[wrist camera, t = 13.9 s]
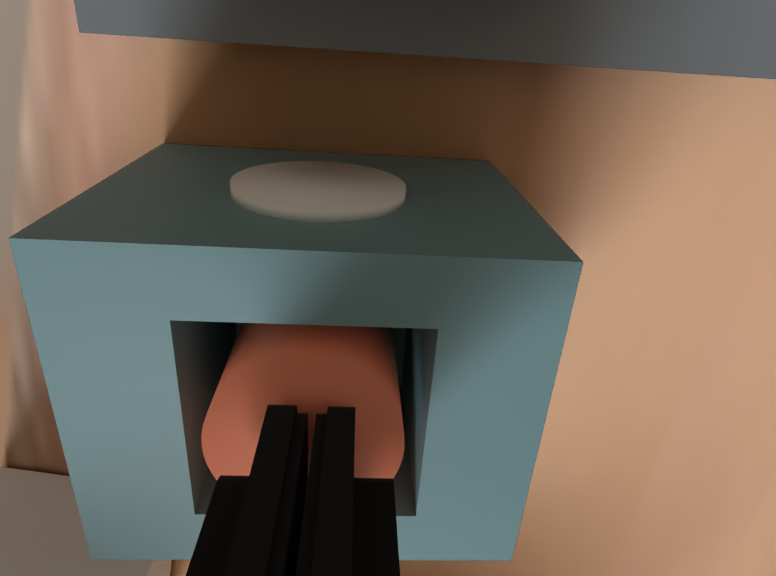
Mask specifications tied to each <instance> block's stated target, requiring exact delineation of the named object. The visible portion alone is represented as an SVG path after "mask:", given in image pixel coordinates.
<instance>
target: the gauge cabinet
mask: <svg viewBox="0 0 776 576" xmlns="http://www.w3.org/2000/svg"><path fill="white" fill-rule="evenodd" d="M8 239H9V243H10V246H11V250H12V254H13V258H14V262H15V266H16V270H17V274H18V277H19V281H20V285H21V289H22V293H23V297H24V301H25V305H26V308H27V312H28V316H29V320H30V324H31V328H32V332H33V336H34V339H35V343H36V347H37V351H38V355H39V359H40V363H41V367H42V370H43V374H44V378H45V382H46V386H47V390H48V394H49V398H50V401H51V405H52V409H53V413H54V417H55V421H56V425H57V429H58V432H59V436H60V440H61V444H62V448H63V452H64V456H65V460H66V463H67V467H68V471H69V475H70V479H71V483H72V487H73V491H74V495H75V498H76V502H77V506H78V510H79V514H80V518H81V522H82V526H83V529H84V533H85V537H86V541H87V545H88V549H89V553H90V557H91V559H115V560H191V558H192V555H193V552H194V549H195V546H196V543H197V540H198V537H199V534H200V531H201V528H202V524H203V521H204V518H205V515H206V512H207V509H208V506H209V503H210V500H211V497H212V494H213V491H214V488H215V485H216V482H217V480H216V479H215V477H214V476H213V475H212V473H211V471H210V469H209V468H208V466H207V463H206V461H205V458H204V455H203V450H202V441H201V434H202V428H203V423H204V420H205V417H206V414H207V412H208V409H209V407H210V404H211V401H212V399H213V396H214V394H215V391H216V389H217V386H218V384H219V381H220V379H221V376H222V373H223V371H224V368H225V366H226V363H227V361H228V358H229V356H230V353H231V351H232V348H233V346H234V343H235V340H236V338H237V335H238V333H239V330H240V328H241V325H242V323H267V324H297V325H328V326H359V327H390V328H393V335H394V344H395V354H396V363H397V373H398V382H399V392H400V401H401V411H402V420H403V429H404V454H403V459H402V462H401V464H400V467H399V469H398V471H397V473H396V475H395V477H394V478H393V481H394V489H395V505H396V520H397V536H398V552H399V560H469V561H512V557H513V553H514V548H515V544H516V540H517V536H518V532H519V528H520V523H521V519H522V515H523V511H524V507H525V503H526V498H527V494H528V490H529V486H530V482H531V478H532V474H533V469H534V465H535V461H536V457H537V453H538V449H539V444H540V440H541V436H542V432H543V428H544V424H545V419H546V415H547V411H548V407H549V403H550V399H551V395H552V390H553V386H554V382H555V378H556V374H557V370H558V365H559V361H560V357H561V353H562V349H563V345H564V340H565V336H566V332H567V328H568V324H569V320H570V316H571V311H572V307H573V303H574V299H575V295H576V291H577V286H578V282H579V278H580V274H581V270H582V266H583V261H582V260H581V259H580V258H579V257H578V256H577V255H576V254H575V253H574V252H573V250H572V249H571V248H570V247H569V246H568V245H567V244H566V243H565V242H564V241H563V240H562V239H561V238H560V236H559V235H558V234H557V233H556V232H555V231H554V230H553V229H552V228H551V227H550V226H549V225H548V224H547V222H546V221H545V220H544V219H543V218H542V217H541V216H540V215H539V214H538V213H537V212H536V211H535V210H534V209H533V207H532V206H531V205H530V204H529V203H528V202H527V201H526V200H525V199H524V198H523V197H522V196H521V195H520V193H519V192H518V191H517V190H516V189H515V188H514V187H513V186H512V185H511V184H510V183H509V182H508V181H507V179H506V178H505V177H504V176H503V175H502V174H501V173H500V172H499V171H498V170H497V169H496V168H495V167H494V165H493V164H492V163H491V162H490V161H478V160H459V159H441V158H422V157H404V156H385V155H367V154H349V153H330V152H312V151H293V150H275V149H256V148H238V147H220V146H201V145H183V144H164V143H163V144H161V145H160V146H158V147H156V148H155V149H153V150H151V151H150V152H148V153H147V154H145V155H143V156H142V157H140V158H138V159H137V160H135V161H134V162H132V163H130V164H129V165H127V166H125V167H124V168H122V169H120V170H119V171H117V172H116V173H114V174H112V175H111V176H109V177H107V178H106V179H104V180H102V181H101V182H99V183H98V184H96V185H94V186H93V187H91V188H89V189H88V190H86V191H85V192H83V193H81V194H80V195H78V196H76V197H75V198H73V199H71V200H70V201H68V202H67V203H65V204H63V205H62V206H60V207H58V208H57V209H55V210H54V211H52V212H50V213H49V214H47V215H45V216H44V217H42V218H40V219H39V220H37V221H36V222H34V223H32V224H31V225H29V226H27V227H26V228H24V229H22V230H21V231H19V232H18V233H16V234H14V235H13V236H11V237H9V238H8Z"/></svg>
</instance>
